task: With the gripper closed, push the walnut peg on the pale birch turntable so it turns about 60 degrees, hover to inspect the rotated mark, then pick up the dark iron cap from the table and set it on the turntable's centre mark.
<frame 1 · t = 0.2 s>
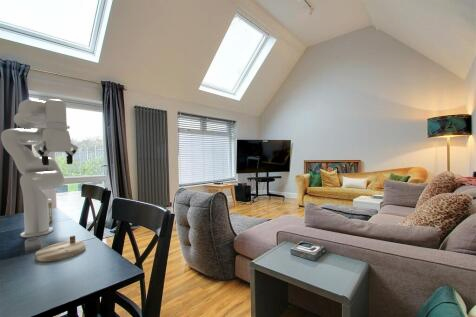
hand: (58, 164, 104), 36 cm above the table, tool pointing down, fingers open, 9 cm apart
turntable: (61, 247, 93), point 3 cm above the table, hinge at 0.0°
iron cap: (33, 249, 97), on the table
salt shaker: (44, 225, 131), on the table
sprinkles bottle: (47, 221, 138), on the table
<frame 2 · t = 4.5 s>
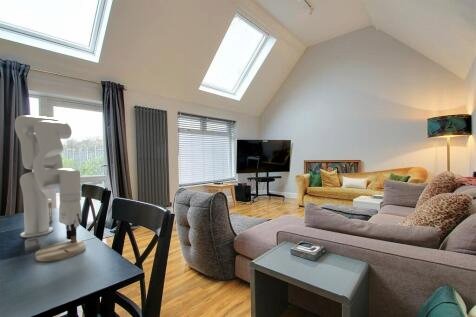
hand: (71, 238, 101), 3 cm above the table, tool pointing down, fingers closed
turntable: (61, 247, 93), point 3 cm above the table, hinge at -4.5°, touching gripper
everything else where it was.
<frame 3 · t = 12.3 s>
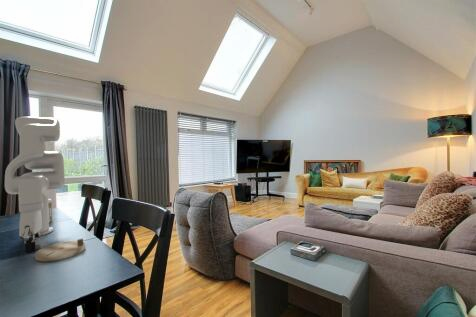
hand: (33, 248, 97), 0 cm above the table, tool pointing down, fingers closed on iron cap, 5 cm apart
turntable: (61, 247, 93), point 3 cm above the table, hinge at -65.8°
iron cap: (33, 249, 97), on the table, touching gripper
everything else where it was.
when the fingers open (4 cm above the table, at t = 17.8 s): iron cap drops 1 cm, resting on turntable.
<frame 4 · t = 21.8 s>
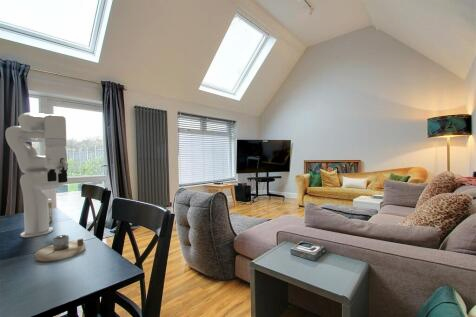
hand: (57, 181, 101), 28 cm above the table, tool pointing down, fingers open, 9 cm apart
turntable: (61, 247, 93), point 3 cm above the table, hinge at -65.8°, touching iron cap
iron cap: (61, 248, 93), point 2 cm above the table, touching turntable
everything else where it was.
at the end: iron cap 0.1 cm from the turntable (horizontally); turntable at -66° (first picture: +0°); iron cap tilted 0° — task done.
